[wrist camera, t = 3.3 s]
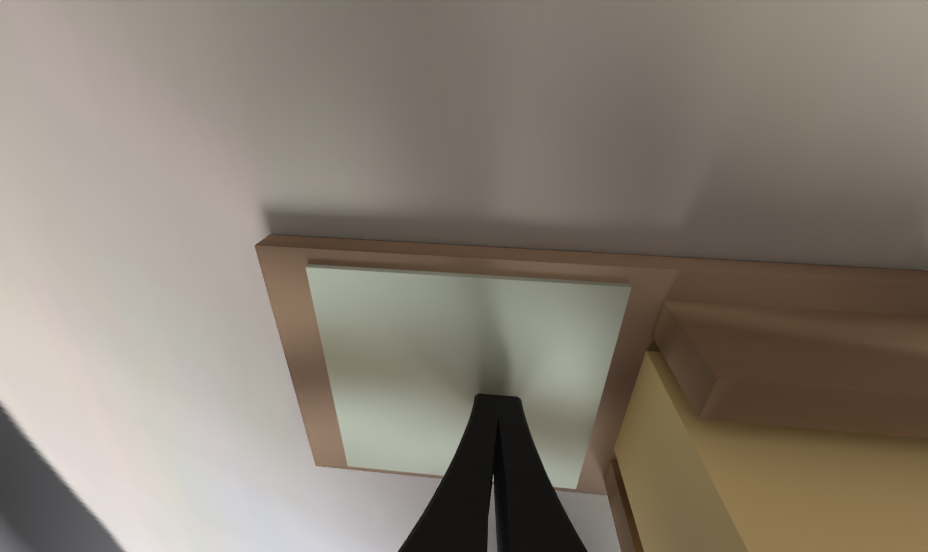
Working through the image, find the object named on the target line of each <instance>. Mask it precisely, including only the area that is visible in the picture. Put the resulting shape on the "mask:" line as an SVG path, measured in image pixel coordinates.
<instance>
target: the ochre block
mask: <svg viewBox="0 0 928 552" xmlns="http://www.w3.org/2000/svg"><path fill="white" fill-rule="evenodd" d="M614 451H615V454H616V458H617V461H618V465H619V468H620V472H621V475H622V478H623V482H624V485H625V489H626V492H627V496H628V499H629V502H630V506H631V509H632V513H633V516H634V519H635V523H636V526H637V530H638V533H639V537H640V540H641V543H642V547H643V550H644V552H928V439H926V438H915V437H903V436H891V435H879V434H868V433H856V432H844V431H832V430H821V429H809V428H797V427H786V426H774V425H762V424H750V423H739V422H727V421H715V420H703V419H698V417H697V415H696V414H695V412H694V410H693V408H692V406H691V405H690V403H689V401H688V399H687V398H686V396H685V394H684V392H683V390H682V389H681V387H680V385H679V383H678V381H677V380H676V378H675V376H674V374H673V373H672V371H671V369H670V367H669V365H668V364H667V362H666V360H665V358H664V357H663V355H662V353H661V352H654V351H646V353H645V356H644V359H643V362H642V365H641V368H640V371H639V374H638V377H637V380H636V383H635V386H634V389H633V392H632V395H631V398H630V401H629V404H628V407H627V411H626V414H625V417H624V420H623V423H622V426H621V429H620V432H619V435H618V438H617V441H616V444H615V447H614Z"/></svg>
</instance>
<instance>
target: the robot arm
mask: <svg viewBox="0 0 928 552" xmlns="http://www.w3.org/2000/svg"><path fill="white" fill-rule="evenodd" d="M493 477H494V496H495V514H496V533H497V551H498V552H587V550H586V548H585V546H584V545H583V543H582V541H581V540H580V538H579V536H578V534H577V533H576V531H575V529H574V527H573V525H572V523H571V522H570V520H569V518H568V516H567V514H566V512H565V510H564V508H563V507H562V505H561V503H560V501H559V499H558V497H557V494H556V492H555V490H554V488H553V486H552V484H551V482H550V480H549V477H548V475H547V473H546V471H545V468H544V466H543V464H542V461H541V459H540V456H539V454H538V451H537V449H536V446H535V444H534V441H533V438H532V436H531V433H530V430H529V427H528V424H527V420H526V417H525V414H524V410H523V405H522V400H521V399H520V398H519V397H516V396H504V395H492V394H480V393H478V394H477V395H475V398H474V403H473V407H472V411H471V414H470V418H469V421H468V423H467V426H466V429H465V431H464V434H463V436H462V439H461V441H460V443H459V446H458V448H457V450H456V453H455V455H454V457H453V459H452V461H451V463H450V465H449V467H448V469H447V471H446V473H445V475H444V477H443V479H442V481H441V483H440V485H439V486H438V488H437V490H436V492H435V494H434V495H433V497H432V499H431V501H430V502H429V504H428V506H427V507H426V509H425V511H424V512H423V514H422V516H421V517H420V519H419V520H418V522H417V524H416V525H415V527H414V528H413V530H412V531H411V533H410V534H409V536H408V538H407V539H406V541H405V542H404V544H403V545H402V546H401V548H400V549H399V551H398V552H487V538H488V514H489V506H490V497H491V489H492V480H493Z"/></svg>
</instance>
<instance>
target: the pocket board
mask: <svg viewBox="0 0 928 552" xmlns="http://www.w3.org/2000/svg"><path fill="white" fill-rule="evenodd" d="M255 248H256V252H257V256H258V259H259V263H260V266H261V270H262V274H263V277H264V281H265V284H266V288H267V292H268V295H269V299H270V302H271V306H272V310H273V313H274V317H275V320H276V324H277V328H278V331H279V335H280V339H281V342H282V346H283V349H284V353H285V357H286V360H287V364H288V367H289V371H290V375H291V378H292V382H293V385H294V389H295V393H296V396H297V400H298V403H299V407H300V411H301V414H302V418H303V421H304V425H305V429H306V432H307V436H308V440H309V443H310V447H311V450H312V454H313V458H314V461H315V465H316V466H322V467H332V468H342V469H352V470H362V471H372V472H382V473H392V474H402V475H412V476H421V477H431V478H441V479H443V477H444V475H445V473H446V471H447V469H448V467H449V465H450V463H451V461H452V459H453V457H454V455H455V453H456V450H457V448H458V446H459V443H460V441H461V439H462V436H463V434H464V431H465V429H466V426H467V423H468V421H469V418H470V414H471V411H472V407H473V403H474V398H475V395H477V394H478V393H480V394H492V395H504V396H516V397H519V398H520V399H521V400H522V405H523V410H524V414H525V417H526V420H527V424H528V427H529V430H530V433H531V436H532V438H533V441H534V444H535V446H536V449H537V451H538V454H539V456H540V459H541V461H542V464H543V466H544V468H545V471H546V473H547V475H548V477H549V480H550V482H551V484H552V486H553V488H554V490H560V491H570V492H580V493H590V494H600V495H608V499H609V503H610V507H611V511H612V515H613V519H614V523H615V527H616V532H617V536H618V540H619V544H620V548H621V552H644V550H643V547H642V543H641V540H640V537H639V533H638V530H637V526H636V523H635V519H634V516H633V513H632V509H631V506H630V502H629V499H628V496H627V492H626V489H625V485H624V482H623V478H622V475H621V472H620V468H619V465H618V461H617V458H616V454H615V451H614V447H615V444H616V441H617V438H618V435H619V432H620V429H621V426H622V423H623V420H624V417H625V414H626V411H627V407H628V404H629V401H630V398H631V395H632V392H633V389H634V386H635V383H636V380H637V377H638V374H639V371H640V368H641V365H642V362H643V359H644V356H645V353H646V351H654V352H661V353H662V355H663V357H664V358H665V360H666V362H667V364H668V365H669V367H670V369H671V371H672V373H673V374H674V376H675V378H676V380H677V381H678V383H679V385H680V387H681V389H682V390H683V392H684V394H685V396H686V398H687V399H688V401H689V403H690V405H691V406H692V408H693V410H694V412H695V414H696V415H697V417H698V419H703V420H715V421H727V422H739V423H750V424H762V425H774V426H786V427H797V428H809V429H821V430H832V431H844V432H856V433H868V434H879V435H891V436H903V437H915V438H926V439H928V271H918V270H900V269H882V268H863V267H845V266H827V265H809V264H791V263H773V262H755V261H737V260H719V259H701V258H683V257H665V256H647V255H629V254H611V253H593V252H575V251H556V250H538V249H520V248H502V247H484V246H466V245H448V244H430V243H412V242H394V241H376V240H358V239H340V238H322V237H304V236H286V235H269V236H267V237H266V238H265V239H263V240H262V241H260V242H259V243H257V244H256V245H255ZM492 484H494V477H493V480H492Z"/></svg>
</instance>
